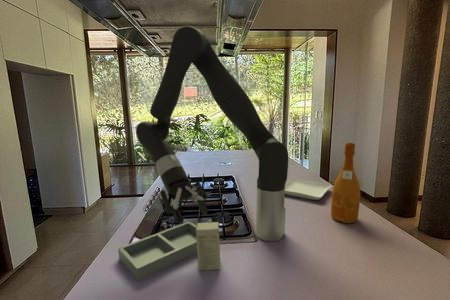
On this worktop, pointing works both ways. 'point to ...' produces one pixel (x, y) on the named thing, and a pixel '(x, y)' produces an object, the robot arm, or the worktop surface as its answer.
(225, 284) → the worktop surface
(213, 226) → the skincare box
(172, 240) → the carton tray
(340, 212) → the wine bottle
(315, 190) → the salad plate
